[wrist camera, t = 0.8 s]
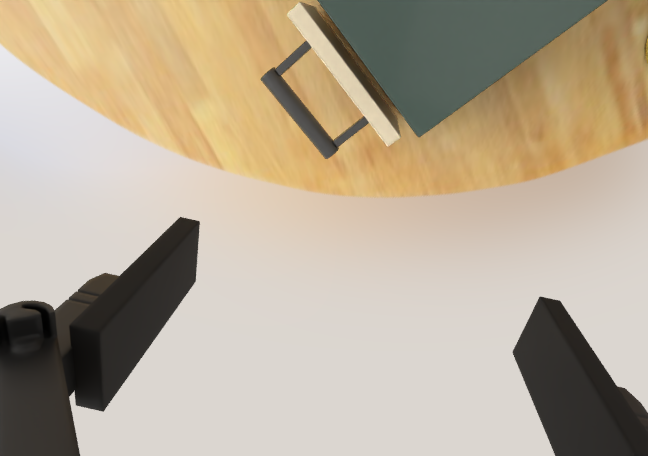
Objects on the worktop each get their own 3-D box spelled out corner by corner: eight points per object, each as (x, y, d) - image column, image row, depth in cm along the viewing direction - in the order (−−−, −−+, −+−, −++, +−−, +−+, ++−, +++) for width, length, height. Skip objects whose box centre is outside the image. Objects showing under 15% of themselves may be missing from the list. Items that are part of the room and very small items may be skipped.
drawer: (343, 157, 41) (336, 185, 34) (261, 56, 38) (234, 63, 31) (525, 19, 34) (563, 17, 27) (444, -117, 31) (464, -157, 24)
